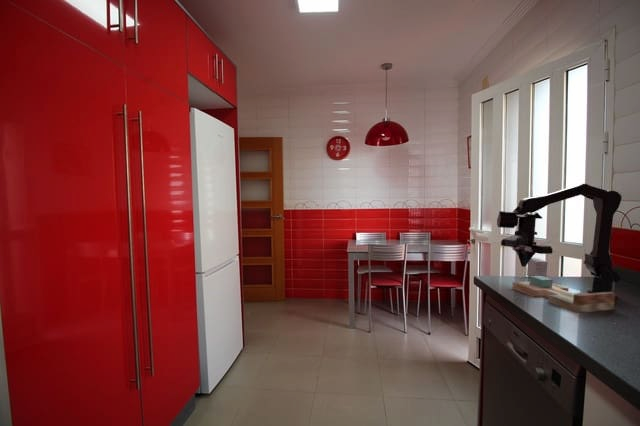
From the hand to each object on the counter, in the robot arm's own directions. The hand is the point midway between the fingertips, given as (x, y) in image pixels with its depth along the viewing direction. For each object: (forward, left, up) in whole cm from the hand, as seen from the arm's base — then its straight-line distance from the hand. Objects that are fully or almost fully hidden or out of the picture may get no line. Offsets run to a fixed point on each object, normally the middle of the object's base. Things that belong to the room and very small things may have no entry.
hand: (523, 266), depth 123 cm
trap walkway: (0, +15, -8) cm, 17 cm away
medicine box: (-16, -7, -8) cm, 19 cm away
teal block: (0, +8, -5) cm, 10 cm away
